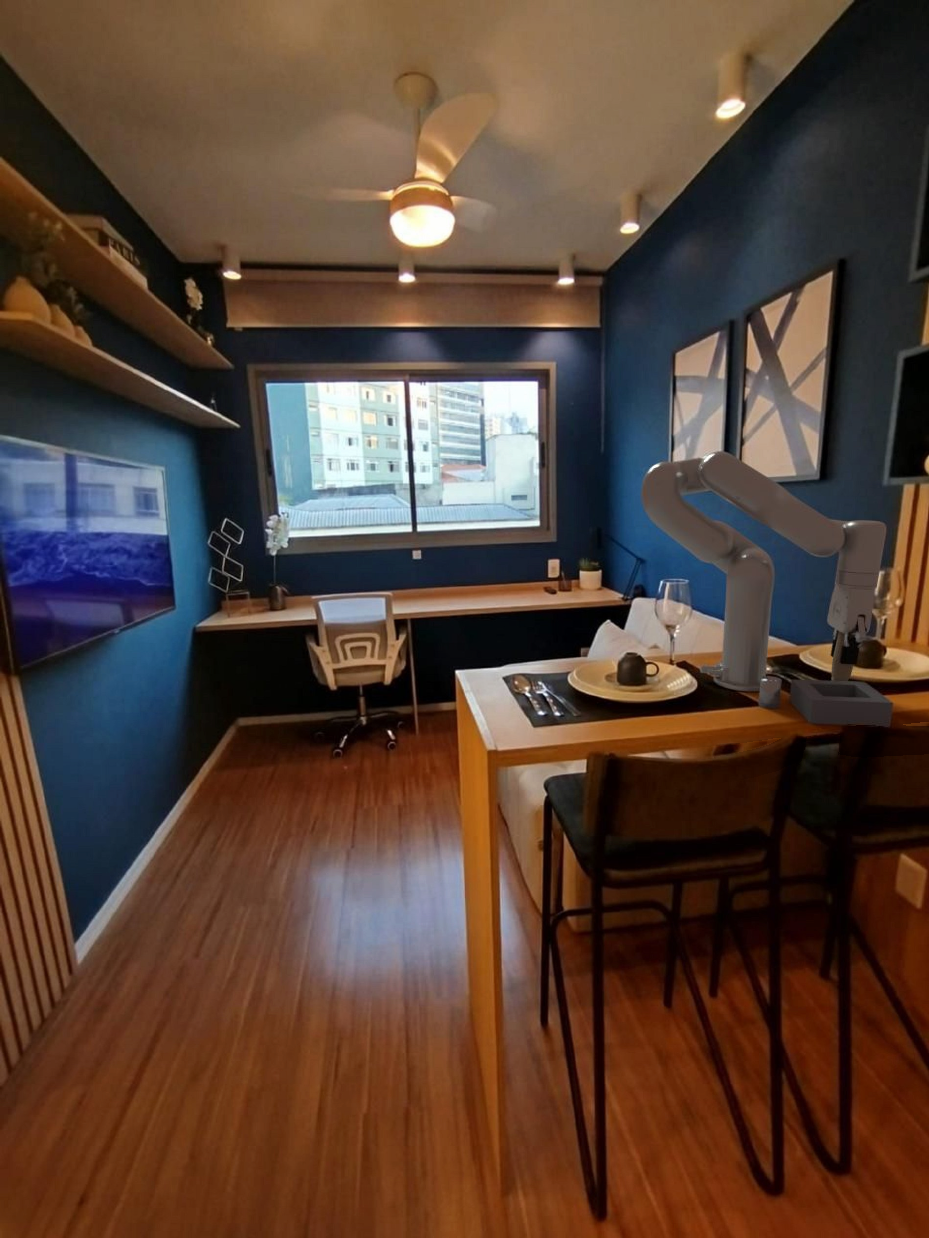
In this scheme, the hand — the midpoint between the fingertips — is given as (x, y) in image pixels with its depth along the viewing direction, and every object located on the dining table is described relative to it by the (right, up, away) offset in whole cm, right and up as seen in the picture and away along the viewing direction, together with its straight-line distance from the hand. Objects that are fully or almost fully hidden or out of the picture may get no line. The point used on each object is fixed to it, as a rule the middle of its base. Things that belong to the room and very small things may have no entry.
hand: (843, 659), depth 125 cm
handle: (0, -6, +1) cm, 6 cm away
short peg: (-18, -10, -3) cm, 21 cm away
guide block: (-7, -10, -9) cm, 15 cm away
